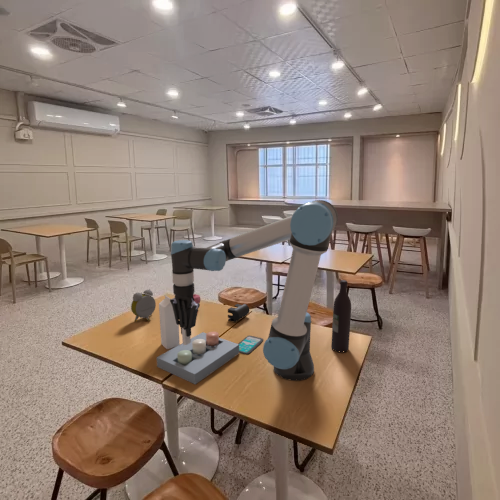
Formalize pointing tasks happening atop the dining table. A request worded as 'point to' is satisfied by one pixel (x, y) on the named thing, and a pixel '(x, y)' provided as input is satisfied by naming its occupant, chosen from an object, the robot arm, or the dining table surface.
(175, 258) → the robot arm
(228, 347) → the console
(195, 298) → the apple
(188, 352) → the button sage
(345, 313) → the wine bottle
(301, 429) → the dining table surface
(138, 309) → the alarm clock
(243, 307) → the end cap
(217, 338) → the button terracotta
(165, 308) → the milk
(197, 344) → the button cream
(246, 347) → the smartphone
